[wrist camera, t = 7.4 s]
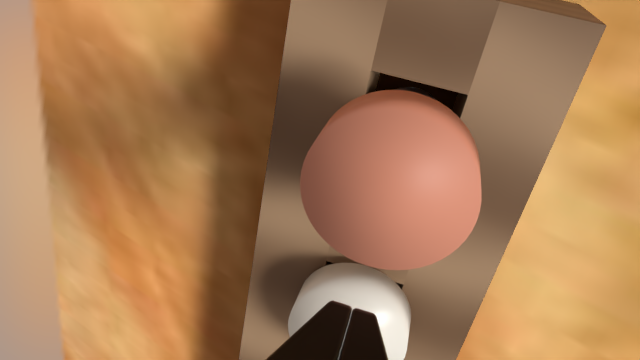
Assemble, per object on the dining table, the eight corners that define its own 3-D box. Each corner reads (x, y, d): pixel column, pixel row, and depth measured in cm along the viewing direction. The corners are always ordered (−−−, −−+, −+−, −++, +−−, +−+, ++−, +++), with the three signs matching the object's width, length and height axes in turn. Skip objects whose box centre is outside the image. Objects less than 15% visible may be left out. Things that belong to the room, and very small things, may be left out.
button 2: (404, 304, 25) (389, 396, 20) (315, 276, 26) (280, 359, 21) (431, 228, 23) (421, 311, 18) (332, 199, 23) (297, 273, 19)
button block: (398, 437, 30) (390, 505, 27) (252, 387, 31) (226, 445, 28) (579, 4, 18) (606, 25, 14) (327, -52, 19) (297, -45, 16)
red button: (453, 193, 19) (448, 290, 14) (332, 160, 19) (288, 241, 14) (496, 73, 16) (509, 138, 12) (358, 39, 17) (316, 88, 12)
